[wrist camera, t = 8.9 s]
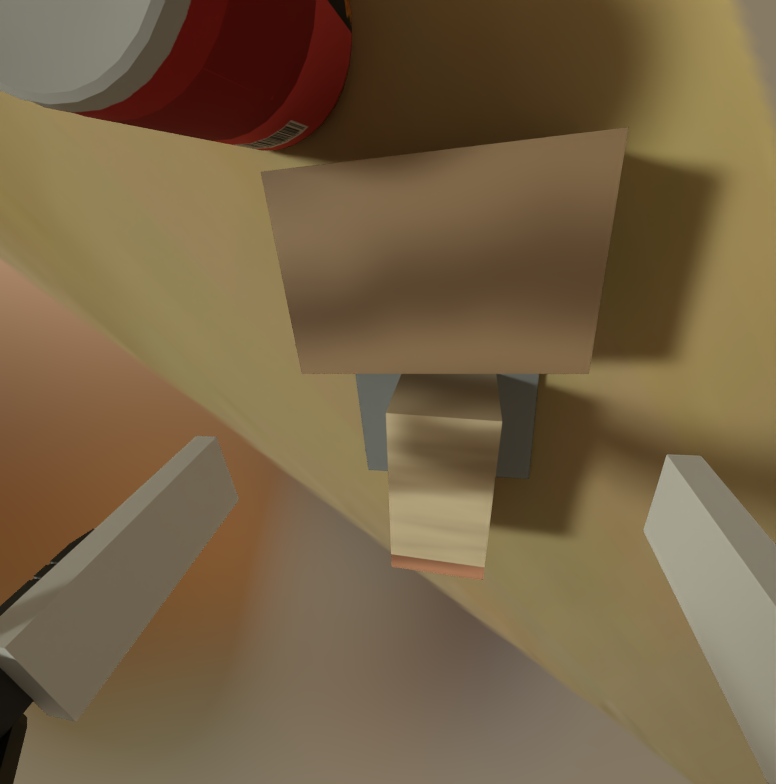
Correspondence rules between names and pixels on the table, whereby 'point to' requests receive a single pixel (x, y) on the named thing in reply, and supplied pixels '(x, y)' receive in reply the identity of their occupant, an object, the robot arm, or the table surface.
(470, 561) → the block
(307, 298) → the step
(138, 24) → the canned food
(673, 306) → the table surface
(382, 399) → the mat
